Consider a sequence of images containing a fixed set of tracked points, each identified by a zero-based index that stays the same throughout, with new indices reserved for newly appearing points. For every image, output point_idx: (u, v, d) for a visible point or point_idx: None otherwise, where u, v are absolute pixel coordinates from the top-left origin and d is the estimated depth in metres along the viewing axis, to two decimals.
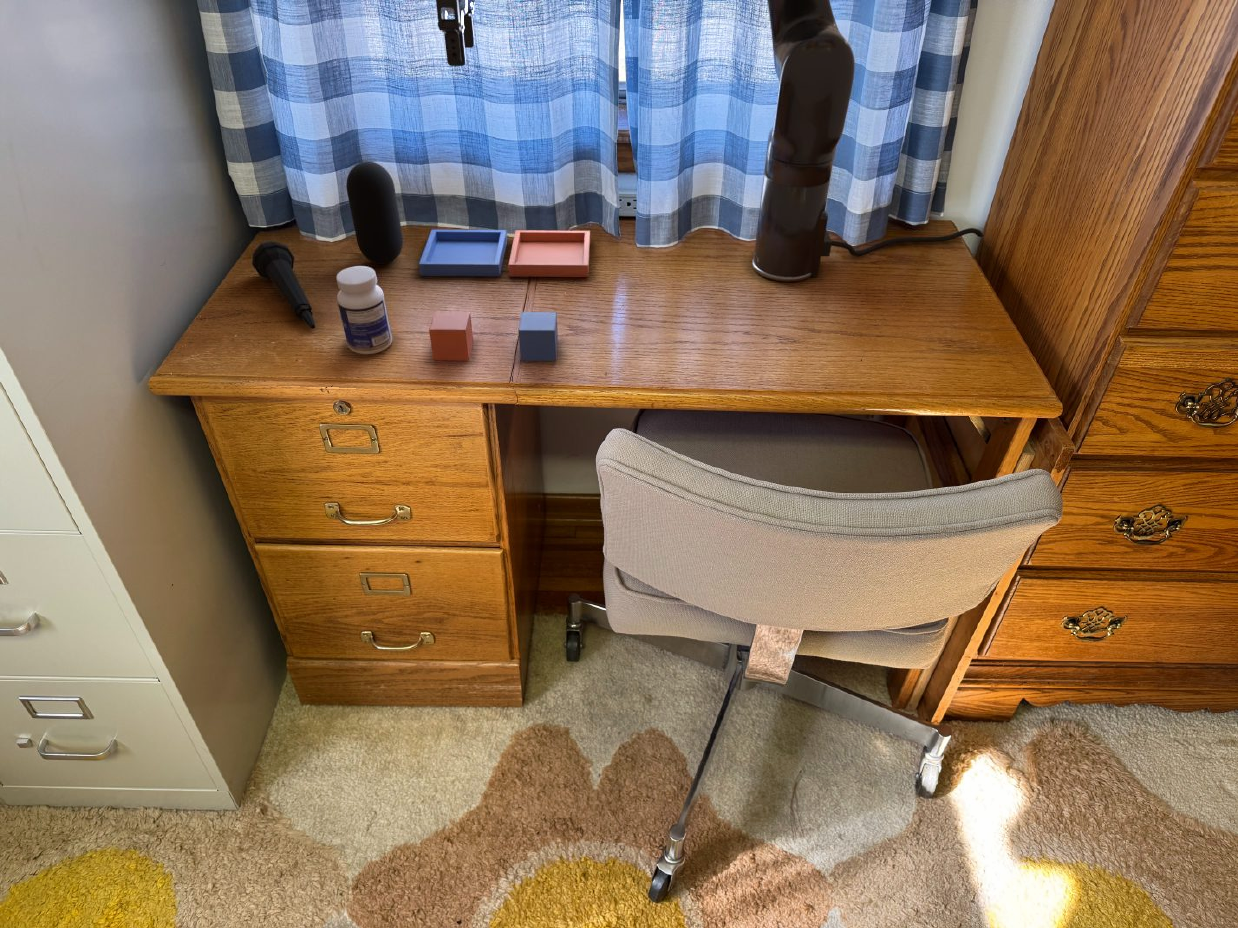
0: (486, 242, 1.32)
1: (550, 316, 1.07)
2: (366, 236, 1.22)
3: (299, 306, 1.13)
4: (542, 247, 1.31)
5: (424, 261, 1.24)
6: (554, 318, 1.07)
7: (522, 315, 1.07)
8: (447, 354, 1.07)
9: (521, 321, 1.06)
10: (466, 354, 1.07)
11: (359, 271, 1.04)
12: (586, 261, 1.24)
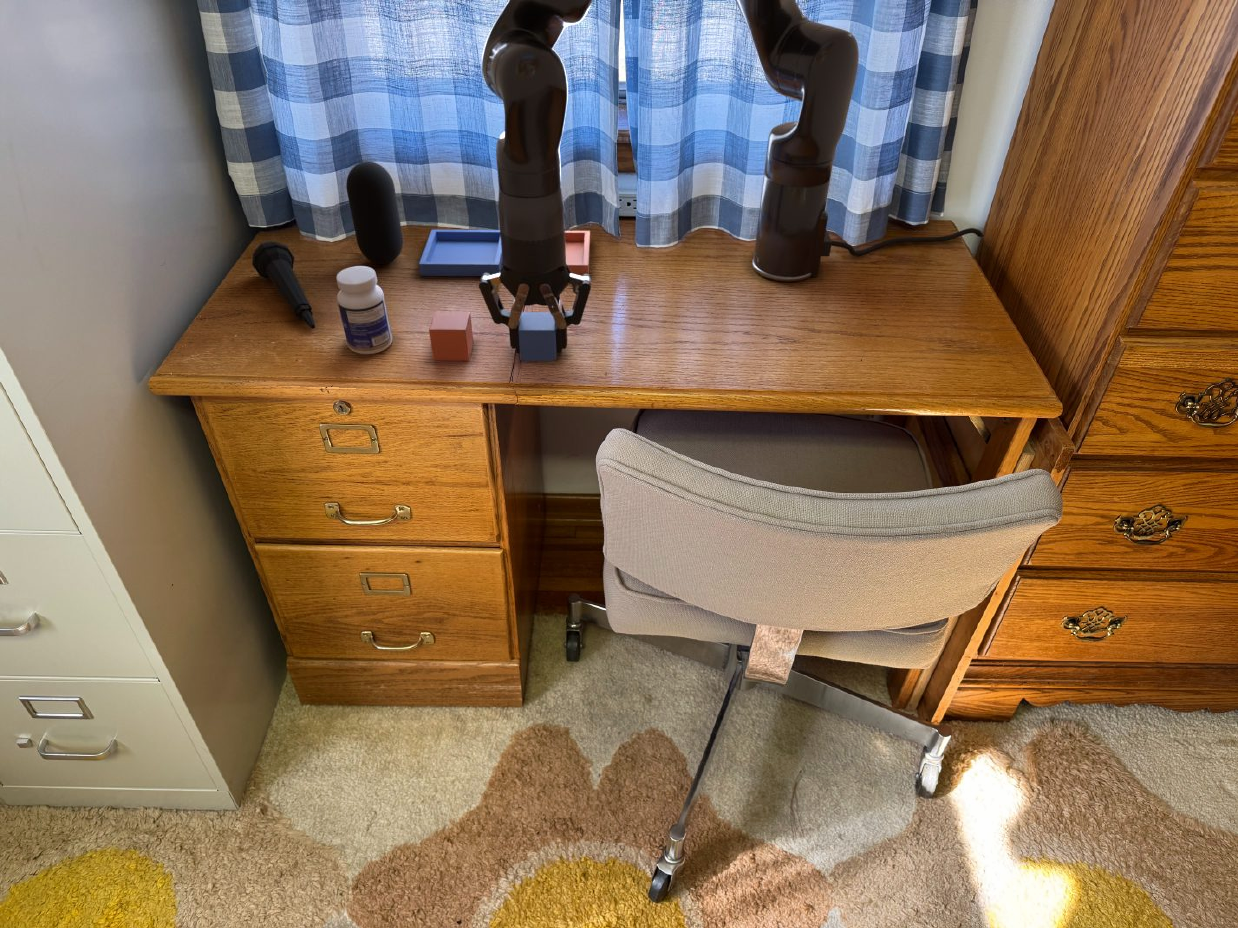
0: (486, 242, 1.32)
1: (550, 316, 1.07)
2: (366, 236, 1.22)
3: (299, 306, 1.13)
4: None
5: (424, 261, 1.24)
6: None
7: (522, 315, 1.07)
8: (447, 354, 1.07)
9: (521, 321, 1.06)
10: (466, 354, 1.07)
11: (359, 271, 1.04)
12: (586, 261, 1.24)
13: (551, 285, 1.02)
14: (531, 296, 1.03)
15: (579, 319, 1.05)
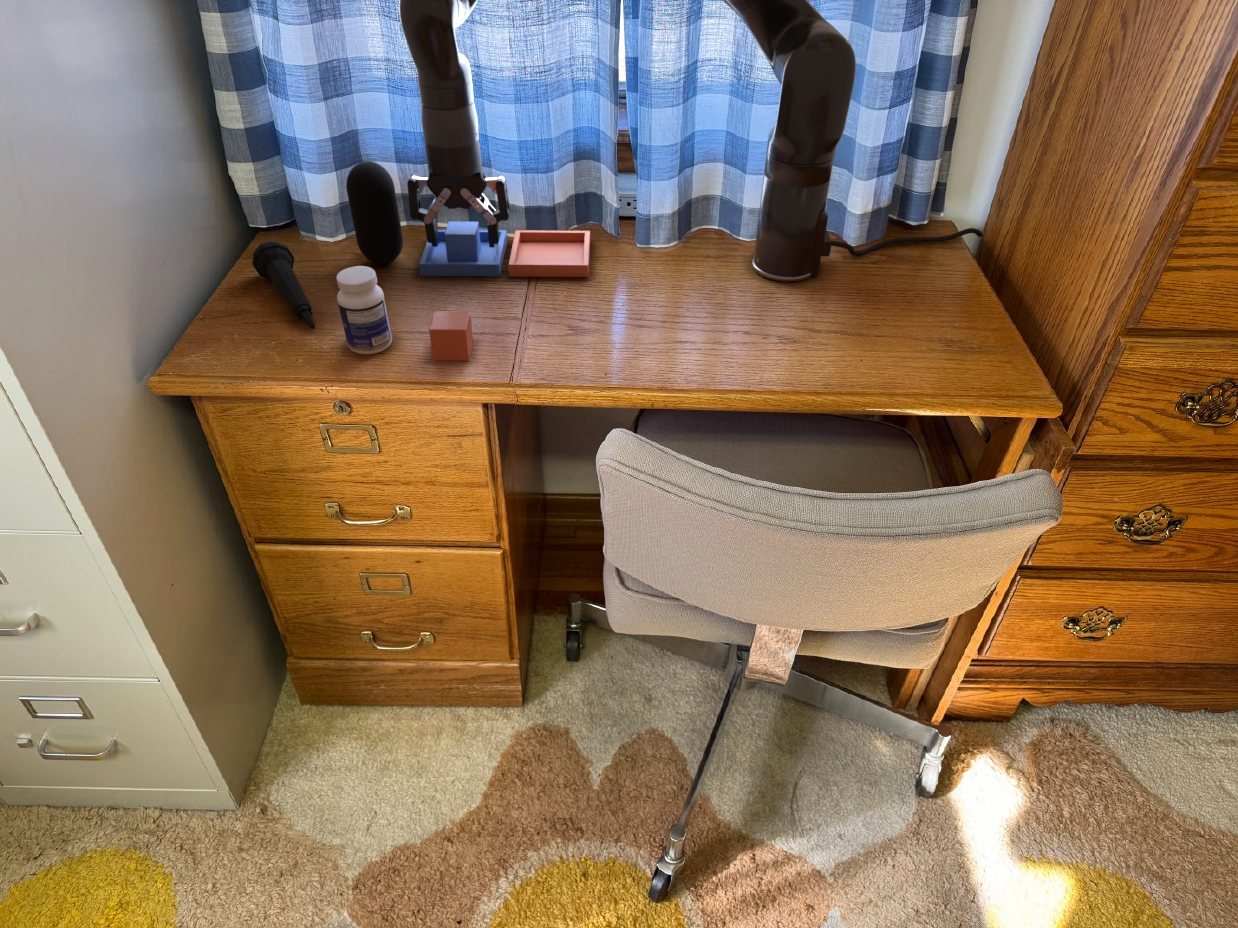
0: (486, 242, 1.32)
1: (472, 224, 1.27)
2: (366, 236, 1.22)
3: (299, 306, 1.13)
4: (542, 247, 1.31)
5: (424, 261, 1.24)
6: (475, 226, 1.26)
7: (449, 223, 1.27)
8: (447, 354, 1.07)
9: (447, 228, 1.26)
10: (466, 354, 1.07)
11: (359, 271, 1.04)
12: (586, 261, 1.24)
13: (470, 190, 1.21)
14: (454, 200, 1.22)
15: (506, 214, 1.23)
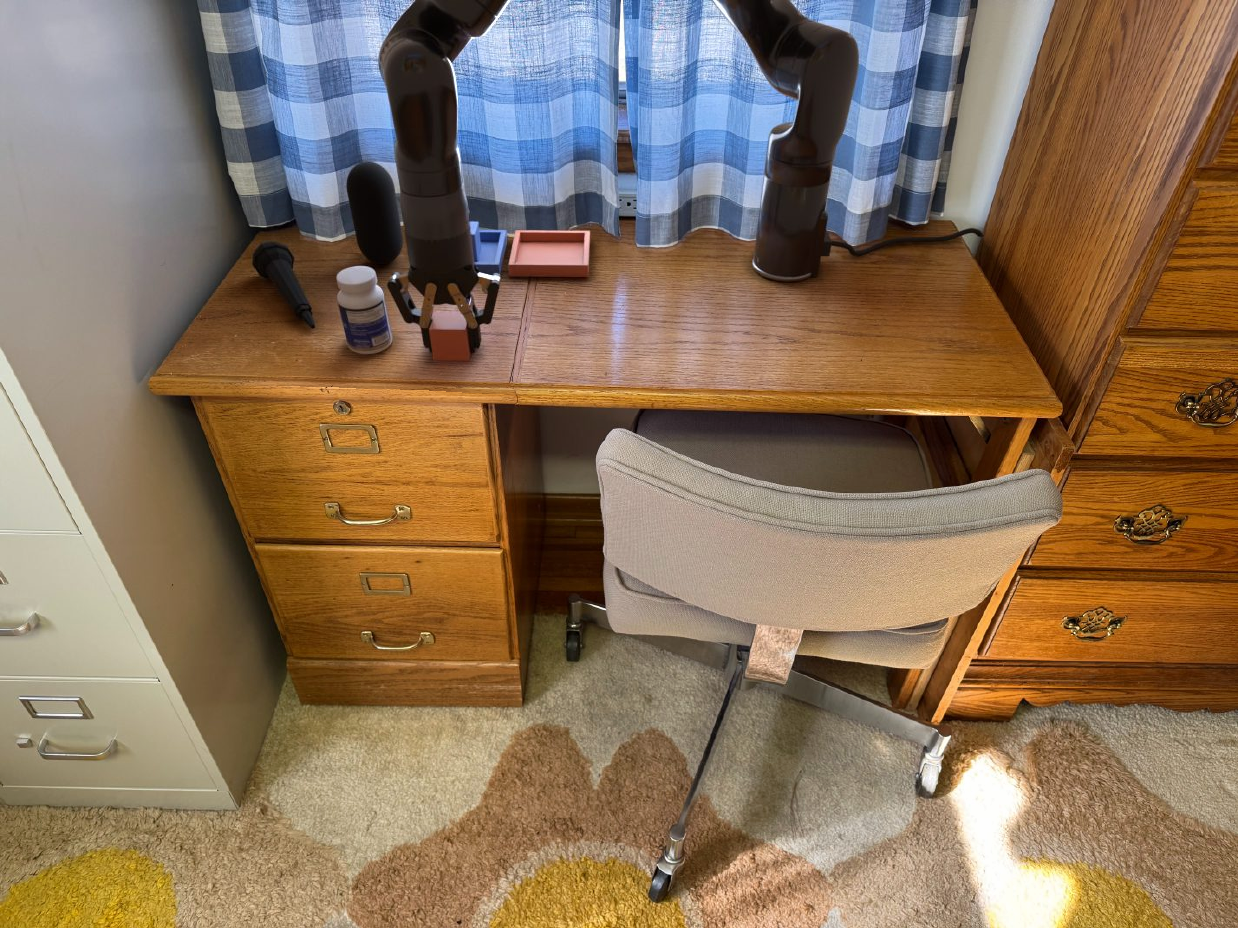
0: (486, 242, 1.32)
1: (472, 224, 1.27)
2: (366, 236, 1.22)
3: (299, 306, 1.13)
4: (542, 247, 1.31)
5: None
6: (475, 226, 1.26)
7: None
8: (447, 354, 1.07)
9: None
10: (466, 354, 1.07)
11: (359, 271, 1.04)
12: (586, 261, 1.24)
13: (459, 284, 1.02)
14: (440, 295, 1.03)
15: (490, 318, 1.05)
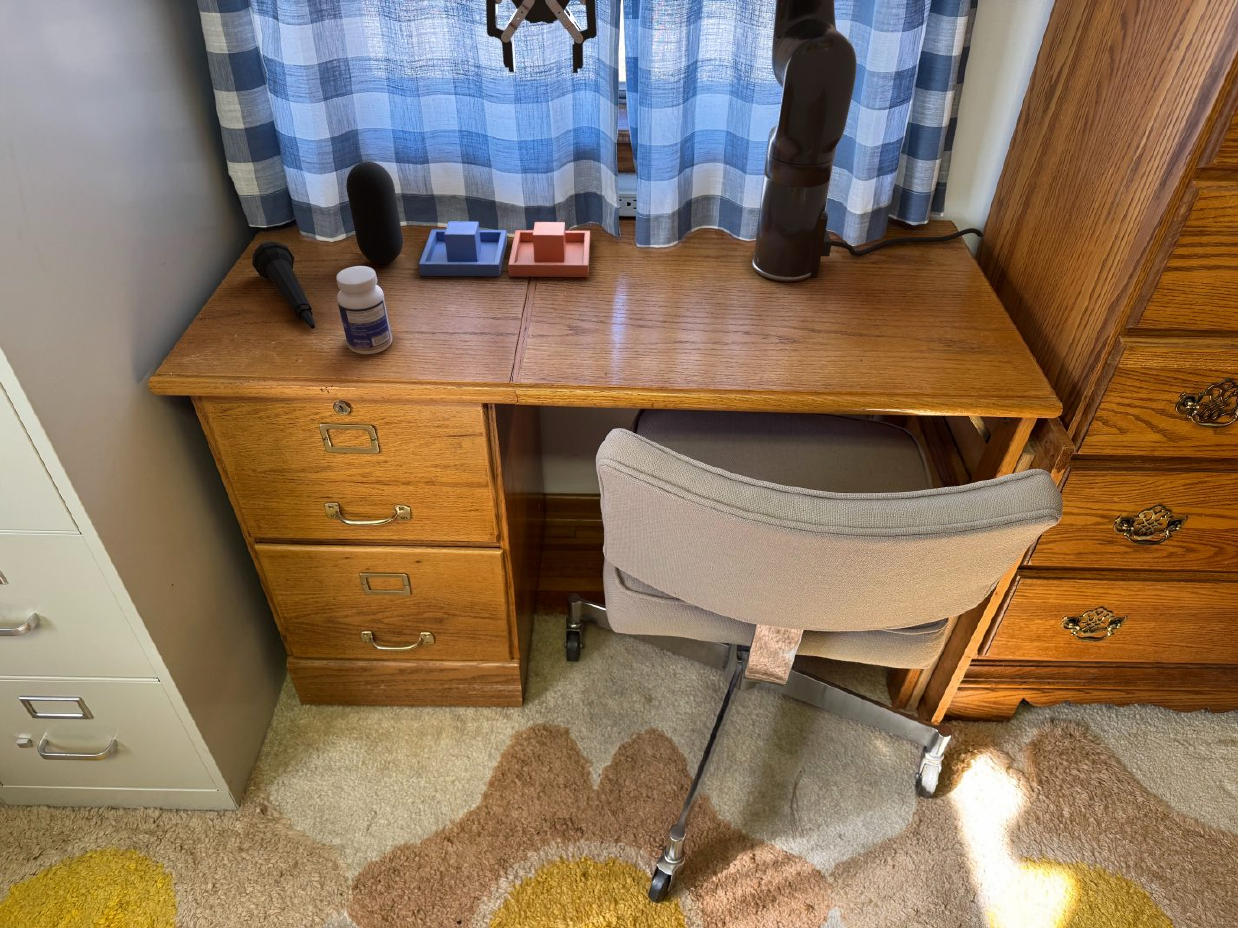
0: (486, 242, 1.32)
1: (472, 224, 1.27)
2: (366, 236, 1.22)
3: (299, 306, 1.13)
4: None
5: (424, 261, 1.24)
6: (475, 226, 1.26)
7: (449, 223, 1.27)
8: (546, 257, 1.26)
9: (447, 228, 1.26)
10: (562, 257, 1.26)
11: (359, 271, 1.04)
12: (586, 261, 1.24)
13: None
14: (537, 12, 1.09)
15: (595, 30, 1.10)
